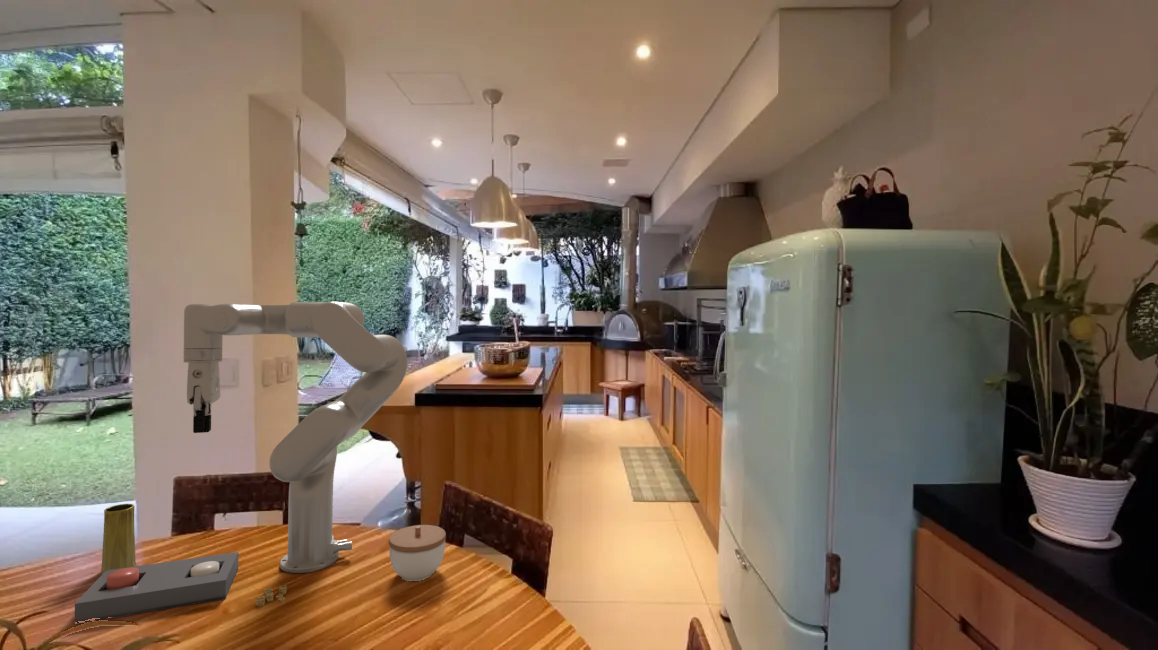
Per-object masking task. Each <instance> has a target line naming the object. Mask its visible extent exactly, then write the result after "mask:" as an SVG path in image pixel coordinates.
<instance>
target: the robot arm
mask: <svg viewBox="0 0 1158 650" xmlns="http://www.w3.org/2000/svg"><path fill="white" fill-rule="evenodd" d="M364 325H365V315H364V313H363V310H362V309H361V308H360V307H359V306H357V305H356V304H354V303H351V302H347V301H346V302H345V301H326V302H324V301H323V302H320V301H318V302H317V301H316V302H315V301H313V302H311V301H308V302H307V301H294V302H291V303H289V304H281V305H280V304H277V305H276V304H272V305H271V304H247V303H221V304H210V303H207V304H206V303H190V304H187V305H186V306H185V307H184V311H183V363H187V364H188V366H187V379H186V380H187V382H186V400H187V402H186V403H188V404H189V405H190V406H191V405H193V406H192V407H193V408H192V409H193V416H192V417H193V419H192V420H193V421H192V424H193V425H192V426H193V427H192V432H193V434H198V433H200V434H203V433H209V432H211V430H212V404H214V403H215V402H218V400H219V399H220V398H221V375H220V373H221V371H220V362H223V336H242V335H243V336H245V335H248V336H249V335H288V336H291V338H320V339H321V340H322V341H323V342H324V343H325V345H327V346H328V347H329V348H331V350H333V351H334V352H335V353H336V355H338V356H339V357H340V358H341V359H342V360H344V361H345V362H346V363H347V364H348V365H349V366H351V367H352V368H353V369H355V370H357V371H359V372H361V373H364V374H363V375H362V376H361V377H360V378H358V379H357V380H356V381H355V382H354V383H353V384H352V385H351V386H350V387H349V388H348V389H347V390H346V391H345V392H344V393H343V394H342V395H341V396H340V397H339V398H337V399H335V400H334V401H331V402H329V403H326V404H323V405H321V406H319V407H317V408H316V409H313V411H311V412H310V413H309V414H307V415H306V416H305V417H304V418H303V419H302V420H301V421H300V422H299V423H298V424H297V425H296V426H295V427H294V428H293V429H292V430H291V431H290V432H289V433H287V435H286V436H284V437H283V439H282V440H280V442H279V443H278V444H276V446H275V447H274V449H273V450H272V452H271V454H270V456H269V464H268V465H269V470H270V472H271V474H272V476H273V477H274V478H275V479H277V480H279V481H281V482H284V483H285V482H286V483H289V487H288V511H287V512H288V518H287V524H288V525H287V554H285V555H284V556H283V557H282V558H281V559H280V562H279V566H280V569H281V570H282V571H283V572H286V573H291V574H304V573H306V574H307V573H311V572H316V571H319V570H323V569H325V568H327V567H330V566H331V565H332V564H334V563H335V562H336V561H337V560H338V559H339V555H340V552H343V551H351V550H353V541H352V540H351V541H348V539H347V538H346V539H341V540H337V539H334V537H335V536H334V534H333V515H334V514H333V508H334V505H333V501H334V478H335V477H334V476H335V470H336V469H335V467H336V462H337V456H338V446H339V445H340V444H342V443H344V442H346V441H347V440H349V439H350V438H352V437H353V436H355V435H356V434H357V433H358V432H359V431H360V430H361V429H362V428H363V427H364V425H365V424H366V423H367V422H368V421H369V420H370V419H371V418H372V417H373V416H374V415H375V414H376V413H377V412H378V411H379V410H380V409H381V407H382V406H383V405H384V404H386V402H387V401H388V400H389V399H391V397H392V396H393V395H394V394H395V393H396V391H397V390H398V389H399V387H400V386H401V385H402V382H403V381H404V378H405V377H406V373H407V369H408V357H407V352H406V349H405V347H404V345H403V343H402V342H401V341H400V340H399V339H397V338H396V337H395V336H393V335H389V334H372V332H370V331H369V330H368V329H367V328H366V327H365V326H364Z"/></svg>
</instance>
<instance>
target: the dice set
mask: <svg viewBox="0 0 1158 650" xmlns="http://www.w3.org/2000/svg"><path fill="white" fill-rule="evenodd" d="M287 591H288V585H287V584H283V585H280V586H279V587H278V594H277V595H276V596H275V593H274V592H273V588H271V587H268V588H265V589H264V590H263V595H261V596H258V597H256V606H257V607H262V606H265V605H266V601H267V602H268V603H269V602H273V601H274V597H275V599H277V601H278V602H283V601H285V600H286V597H284V595H285V594H287Z"/></svg>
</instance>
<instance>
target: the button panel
mask: <svg viewBox="0 0 1158 650" xmlns="http://www.w3.org/2000/svg"><path fill="white" fill-rule="evenodd" d="M239 554H240V552H239V551H234V552H230V553H229V552H228V553H227V552H226V553H221V554H220V553H219V554H214V555H208V556H207V555H206V556H200V557H199V556H198V557H191V558H186V559H178V560H171V561H164V562H157V563H151V564H150V563H149V564H143V565H136V566H134V568H138V569H139V582H138V584H137V585H136V586H130V587H123V588H117V589H110V590H106V587H107V575H109V574H110V573H112V572H114V571H117V570H120V569H124V568H120V569H113V570H106V571H105V572H104V573H103V574H102V573H101V575H100V577H99V578H97V579H96V581H95V582H94V583H93V584H91V586H90V587H89V588H88V590H86V591H85V592H84V593H83V594H82V595H81V596H80V598H79V599H78V600H77V601H76V602H75V603H74V623H75V622H77V623H79V622H78V621H85V620H88V619H92V618H100V619H95V620H100V621H104V620H107V619H106V618H108V617H117V618H123V617H127V616H133V615H139V614H144V613H151V612H150V611H152V612H158V611H162V610H169V609H174V608H182V607H186V606H193V605H198V604H203V603H209V602H216V601H222V600H227V597H228V594H229V592H230V590H231V587H232V584H233V582H234V580H235V578H236V575H237V573H238V570H239ZM208 561H217V562H219V573H215V574H208V575H202V576H195V577H191V568H192V567H193V566H195V565H197V564H200V563H203V562H208ZM127 568H131V567H127ZM89 621H90V620H89ZM89 621H85V622H88V623H90V622H89Z"/></svg>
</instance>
